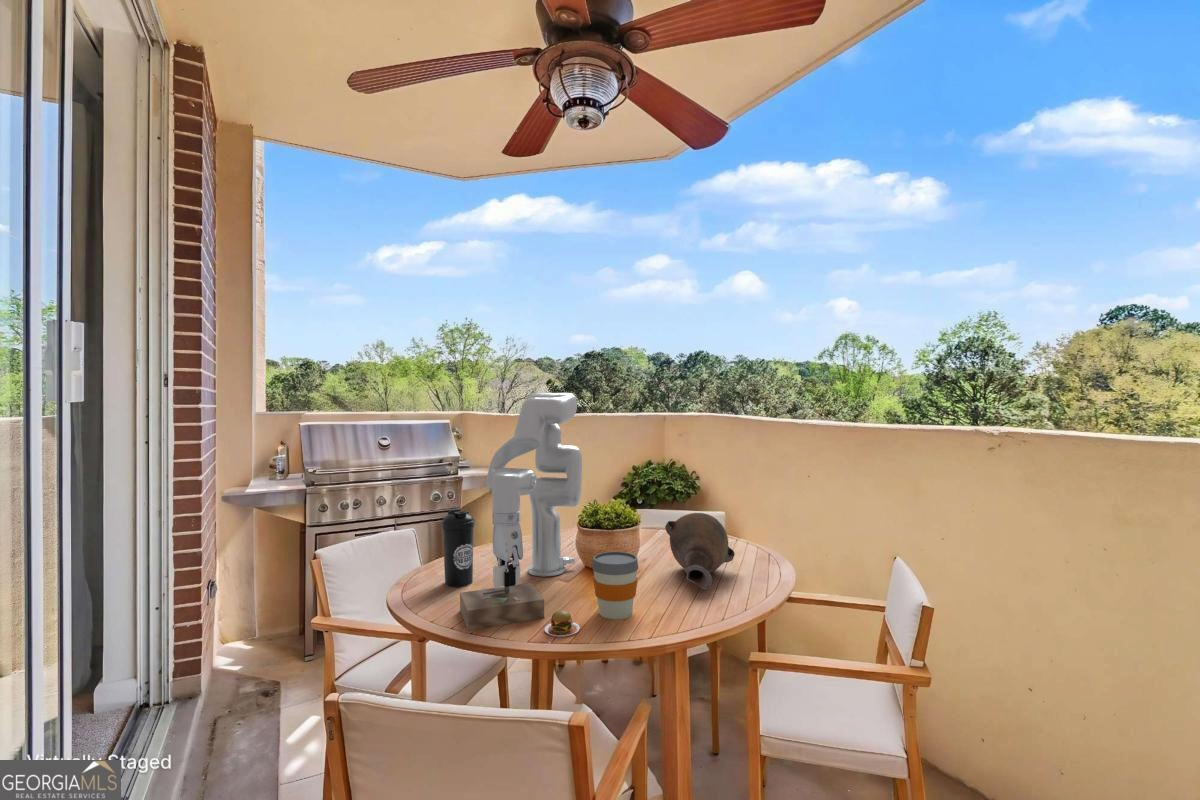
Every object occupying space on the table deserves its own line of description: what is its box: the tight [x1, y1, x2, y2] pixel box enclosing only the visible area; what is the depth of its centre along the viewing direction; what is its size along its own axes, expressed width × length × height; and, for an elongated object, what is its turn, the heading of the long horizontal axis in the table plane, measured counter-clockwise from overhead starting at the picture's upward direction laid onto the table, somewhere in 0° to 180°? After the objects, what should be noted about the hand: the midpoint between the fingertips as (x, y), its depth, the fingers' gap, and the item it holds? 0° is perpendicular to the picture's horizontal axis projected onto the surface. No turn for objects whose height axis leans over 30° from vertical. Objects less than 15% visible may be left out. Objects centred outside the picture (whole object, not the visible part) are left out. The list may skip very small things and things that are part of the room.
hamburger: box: [544, 609, 581, 637], centre depth 142 cm, size 12×12×6 cm
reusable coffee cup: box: [592, 551, 639, 620], centre depth 153 cm, size 12×13×15 cm
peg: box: [483, 564, 521, 595], centre depth 154 cm, size 10×2×7 cm, turn 115°
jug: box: [664, 512, 736, 591], centre depth 182 cm, size 20×20×30 cm
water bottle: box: [441, 508, 476, 588], centre depth 179 cm, size 10×10×23 cm
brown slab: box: [459, 582, 545, 631], centre depth 153 cm, size 20×14×5 cm
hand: (507, 583), depth 155 cm, fingers closed on peg, 2 cm apart
